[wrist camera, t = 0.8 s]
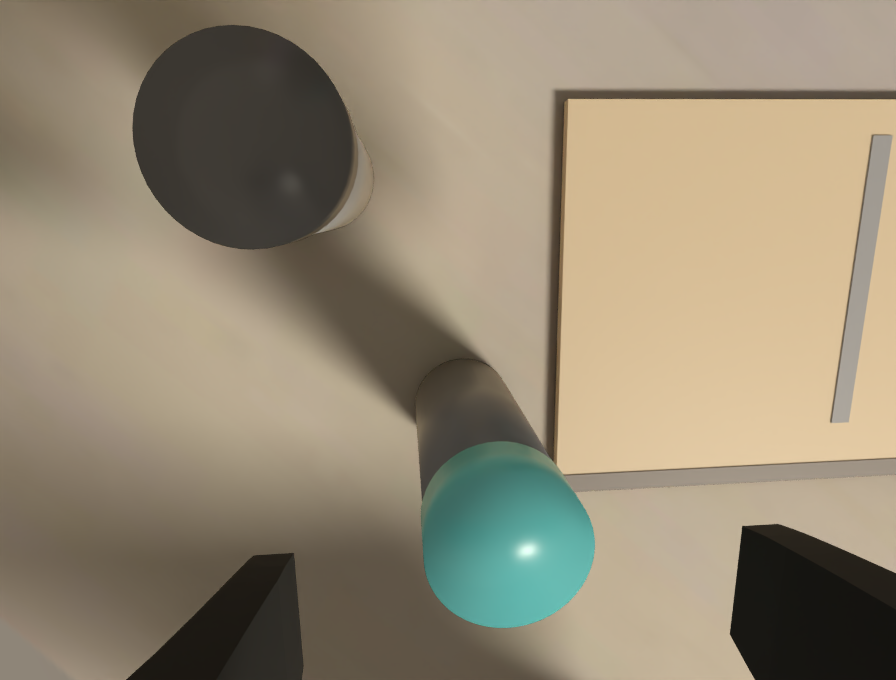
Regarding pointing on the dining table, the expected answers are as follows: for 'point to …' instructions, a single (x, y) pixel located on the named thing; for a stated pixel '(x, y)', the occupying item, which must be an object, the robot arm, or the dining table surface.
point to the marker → (494, 504)
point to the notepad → (726, 292)
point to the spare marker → (248, 140)
